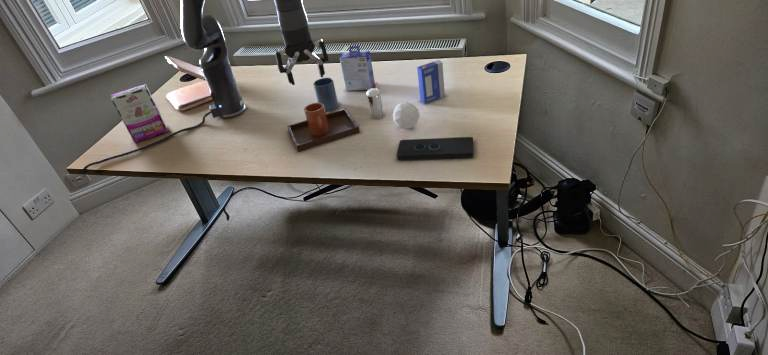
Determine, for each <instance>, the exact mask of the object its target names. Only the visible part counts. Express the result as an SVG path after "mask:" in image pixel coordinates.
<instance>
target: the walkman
mask: <svg viewBox="0 0 768 355" xmlns="http://www.w3.org/2000/svg"><path fill="white" fill-rule="evenodd" d="M416 70H417V80H418V89H419V97H420V102H422V103H423V104H424V105H426V104H428V103H431V102H434V101H437V100H440V99H442V98H445V97H446V91H445V78H444V65H443V61H441V60H439V59H437V60H434V61H431V62H428V63H426V64H422V65H419V66H417V67H416Z"/></svg>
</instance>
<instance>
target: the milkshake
mask: <svg viewBox="0 0 768 355" xmlns="http://www.w3.org/2000/svg"><path fill="white" fill-rule="evenodd" d="M378 83H379V82H376V81H375V88H374V87H373V88H372V89H368V90H367V91H366V93H365V94H366V97H367V101H368V104H369V109H370V112H371V116H372V118H373V119H381V118H382V117H383V114H384V113H383V102H382V101H383V100H382V91H381V89H379V88H378V87H379V86H378Z"/></svg>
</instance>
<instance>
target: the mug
mask: <svg viewBox="0 0 768 355" xmlns="http://www.w3.org/2000/svg"><path fill="white" fill-rule="evenodd" d="M303 112H304V115H305V120H307V123H308V126H309V130H310V133H311V134H312V135H315V136H318V135H323V134H325V133H327V132H328V131H329V125H328V121H327V117H326V114H327V113H326V112H327V111H325V108H324V105H323V104H322V103H318V102H313V103H308V104H307V105H305V107H304V108H303Z"/></svg>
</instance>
